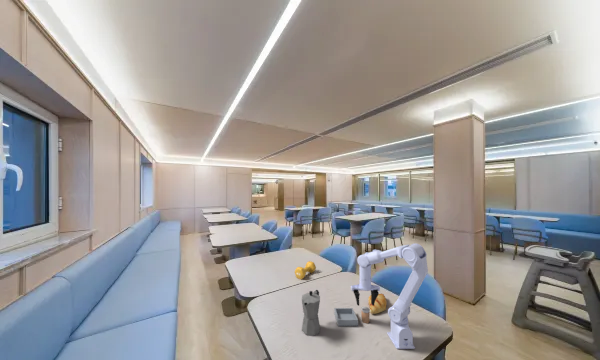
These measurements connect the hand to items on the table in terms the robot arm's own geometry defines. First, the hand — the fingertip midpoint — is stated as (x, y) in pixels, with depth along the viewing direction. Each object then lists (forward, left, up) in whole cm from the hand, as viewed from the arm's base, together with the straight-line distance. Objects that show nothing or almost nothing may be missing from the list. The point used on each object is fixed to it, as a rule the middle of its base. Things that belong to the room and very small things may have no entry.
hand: (365, 304), depth 105 cm
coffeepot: (-5, +28, -8) cm, 30 cm away
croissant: (+13, -11, -9) cm, 19 cm away
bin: (+1, +10, -8) cm, 13 cm away
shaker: (0, 0, -8) cm, 8 cm away
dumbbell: (+55, +28, -9) cm, 63 cm away
